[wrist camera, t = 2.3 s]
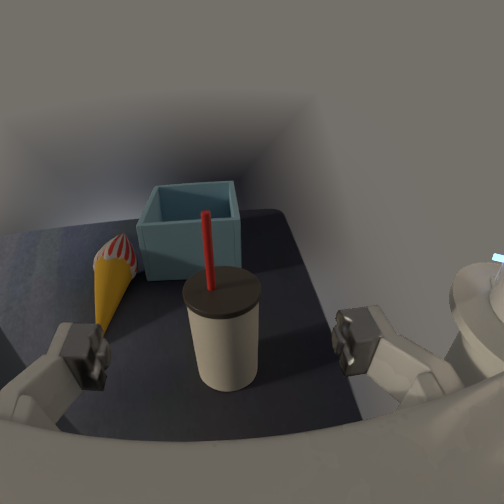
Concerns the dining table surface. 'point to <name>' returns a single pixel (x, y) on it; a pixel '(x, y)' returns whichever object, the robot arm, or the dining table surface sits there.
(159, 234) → the bin
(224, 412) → the dining table surface
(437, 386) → the robot arm
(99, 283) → the ice cream cone
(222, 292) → the paper cup
